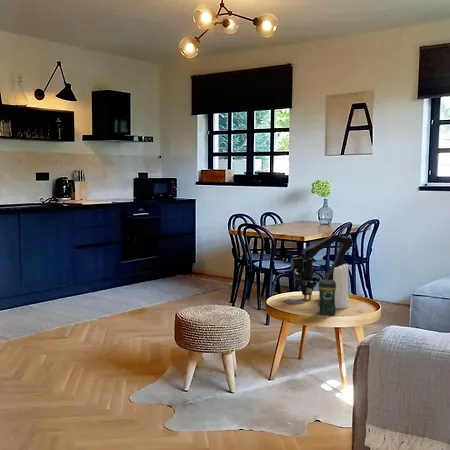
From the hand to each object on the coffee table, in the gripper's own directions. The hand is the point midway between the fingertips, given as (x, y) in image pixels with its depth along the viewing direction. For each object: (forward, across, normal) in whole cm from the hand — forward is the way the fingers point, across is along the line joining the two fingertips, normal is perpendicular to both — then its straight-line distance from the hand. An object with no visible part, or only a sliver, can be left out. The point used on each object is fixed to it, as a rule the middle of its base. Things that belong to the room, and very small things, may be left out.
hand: (306, 294), depth 337 cm
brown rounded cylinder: (+3, 0, 0) cm, 3 cm away
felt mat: (+3, +11, -1) cm, 11 cm away
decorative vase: (+3, 0, +23) cm, 23 cm away
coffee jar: (+3, +20, +28) cm, 35 cm away
